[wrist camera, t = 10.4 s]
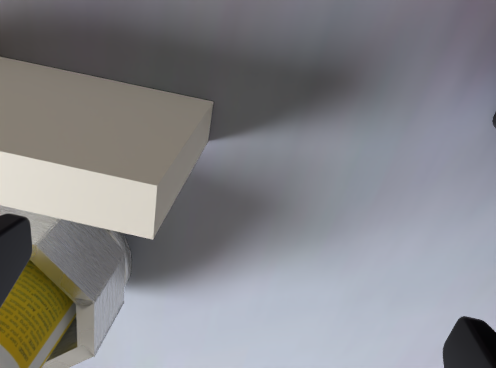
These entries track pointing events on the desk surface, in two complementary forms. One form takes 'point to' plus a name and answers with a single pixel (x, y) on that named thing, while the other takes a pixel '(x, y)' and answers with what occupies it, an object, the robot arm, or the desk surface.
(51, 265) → the cup bracket
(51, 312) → the supplement bottle
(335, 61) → the desk surface
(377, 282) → the desk surface
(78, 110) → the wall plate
